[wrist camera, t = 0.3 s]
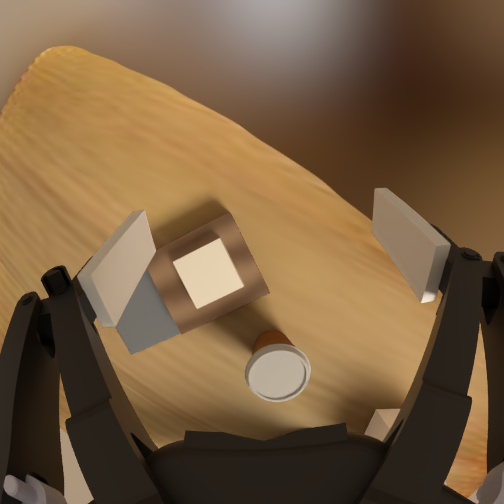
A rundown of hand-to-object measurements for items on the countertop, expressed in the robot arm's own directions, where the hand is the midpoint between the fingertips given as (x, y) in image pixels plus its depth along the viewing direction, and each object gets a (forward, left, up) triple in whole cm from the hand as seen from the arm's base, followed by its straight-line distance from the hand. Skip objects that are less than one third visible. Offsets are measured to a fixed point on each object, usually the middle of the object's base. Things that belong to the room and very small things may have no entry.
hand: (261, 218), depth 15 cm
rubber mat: (-3, +25, -32) cm, 41 cm away
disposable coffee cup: (-20, +6, -32) cm, 38 cm away
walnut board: (-3, +10, -32) cm, 34 cm away
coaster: (-3, +9, -28) cm, 30 cm away
